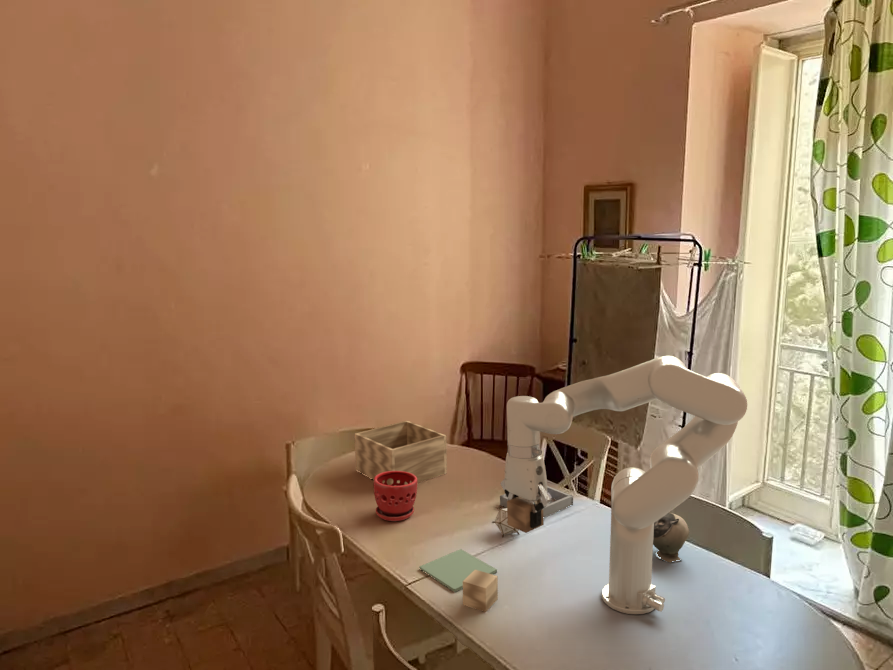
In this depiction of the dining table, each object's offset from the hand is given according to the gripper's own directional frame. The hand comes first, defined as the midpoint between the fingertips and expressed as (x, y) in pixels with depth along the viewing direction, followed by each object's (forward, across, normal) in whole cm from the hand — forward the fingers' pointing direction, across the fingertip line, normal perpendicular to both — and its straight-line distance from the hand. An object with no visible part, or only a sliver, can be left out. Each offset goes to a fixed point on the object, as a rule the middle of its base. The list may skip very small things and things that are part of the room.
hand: (525, 521), depth 159 cm
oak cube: (+17, +3, +13) cm, 21 cm away
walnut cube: (+1, 0, 0) cm, 1 cm away
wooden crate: (+16, +81, -20) cm, 85 cm away
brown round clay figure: (+18, -13, -39) cm, 45 cm away
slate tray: (+17, +31, -36) cm, 51 cm away
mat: (+17, +17, +8) cm, 25 cm away
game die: (+17, +23, -16) cm, 33 cm away
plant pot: (+16, +54, +1) cm, 56 cm away
